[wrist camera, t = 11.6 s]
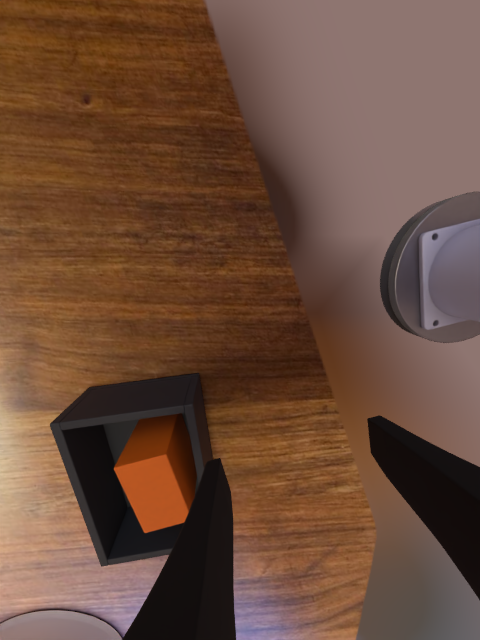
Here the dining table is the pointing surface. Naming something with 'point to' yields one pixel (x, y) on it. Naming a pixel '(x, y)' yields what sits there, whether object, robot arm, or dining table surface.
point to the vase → (56, 627)
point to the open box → (105, 449)
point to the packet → (158, 471)
